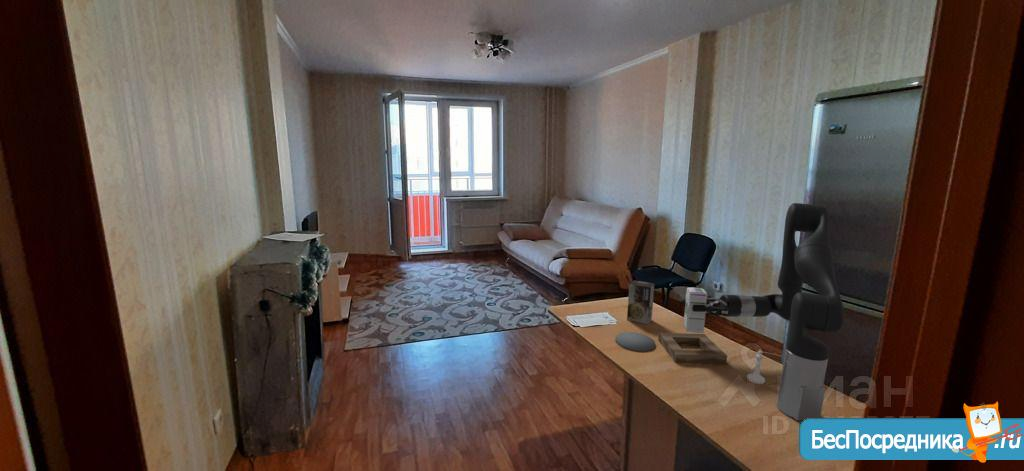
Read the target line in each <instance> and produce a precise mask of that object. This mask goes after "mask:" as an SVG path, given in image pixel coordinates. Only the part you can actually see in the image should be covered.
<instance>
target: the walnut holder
mask: <svg viewBox="0 0 1024 471" xmlns="http://www.w3.org/2000/svg"><path fill="white" fill-rule="evenodd" d="M658 342H659V343H660V345H661V346H662V347H663V349H665V351H666V352H667V354H669V356H670V357H671V358H672V361H674V363H678V364H679V363H680V364H682V363H683V364H709V365H710V364H711V365H712V364H714V365H715V364H716V365H718V364H719V365H726V364H727V360H728V355H727V354H726V353H725V352H724V351H723V350H722V349H721V348H720V347H719V346H718V345H717V344H716V343H715V342H713V340H711V338H709V336H707V335H706V334H705V333H685V332H684V333H683V332H681V333H678V332H677V333H676V332H658ZM682 346H698V347H699V348H700V349H682Z"/></svg>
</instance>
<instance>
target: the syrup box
mask: <svg viewBox="0 0 1024 471" xmlns="http://www.w3.org/2000/svg"><path fill="white" fill-rule="evenodd" d="M705 290H706V289H704V288H701V287H690V286H689V287H686V292H685V298H686V302H685V306H684V314H683V316H684V317H683V327H684V329H685V331H686V332H687V333H688V332H690V333H694V334H705V331H704V330H705V322H706V313H705V312H694V311H693V310H692V307H693V305H706V301H707V296H708V293H707V291H705Z"/></svg>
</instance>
